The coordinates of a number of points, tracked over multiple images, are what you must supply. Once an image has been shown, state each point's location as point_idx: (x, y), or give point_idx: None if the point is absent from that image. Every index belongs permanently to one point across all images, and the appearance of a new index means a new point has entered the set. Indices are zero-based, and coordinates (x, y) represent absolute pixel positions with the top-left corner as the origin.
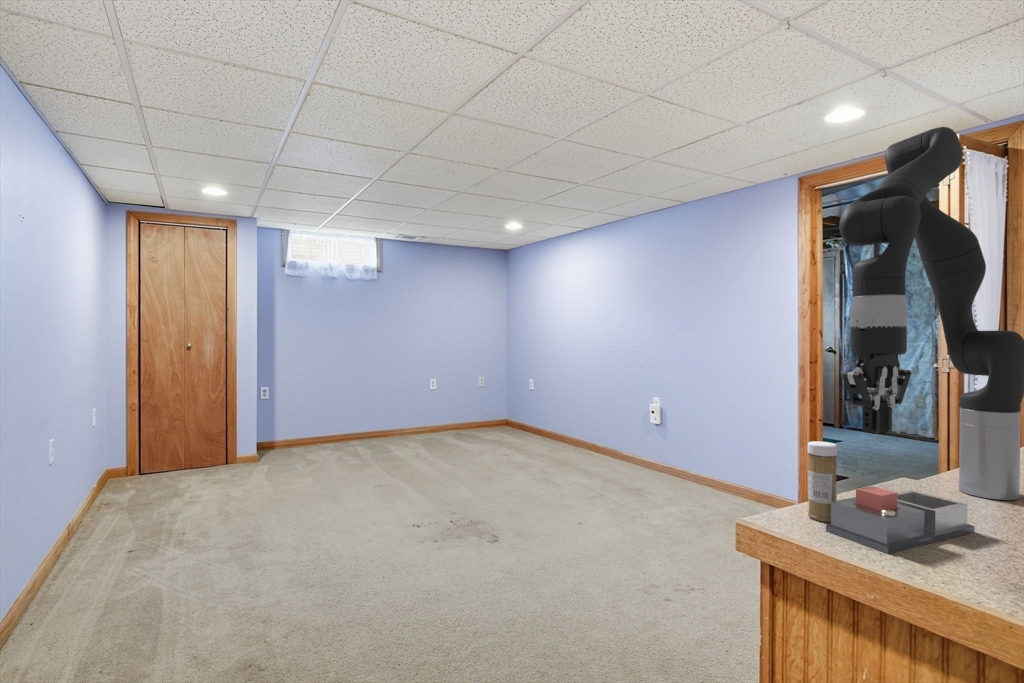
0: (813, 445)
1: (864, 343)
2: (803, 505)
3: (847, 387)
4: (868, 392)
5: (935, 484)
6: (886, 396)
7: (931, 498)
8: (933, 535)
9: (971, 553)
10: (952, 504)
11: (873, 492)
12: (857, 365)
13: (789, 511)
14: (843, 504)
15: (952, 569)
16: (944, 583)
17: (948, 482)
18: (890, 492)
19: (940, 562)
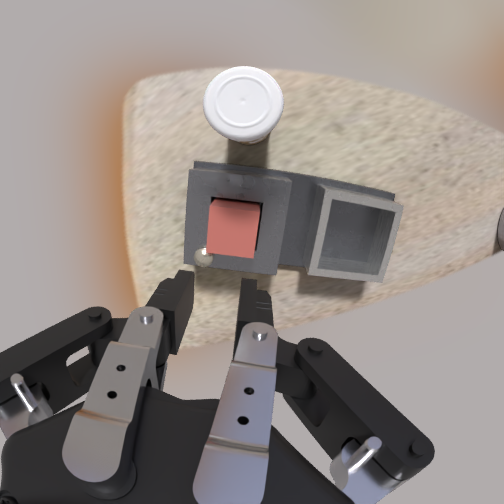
0: (203, 98)
1: None
2: (288, 72)
3: (23, 344)
4: (84, 392)
5: None
6: (300, 370)
7: (387, 237)
8: (289, 263)
9: (283, 297)
10: (379, 265)
11: (215, 235)
12: (11, 453)
13: None
14: (192, 190)
15: (211, 303)
16: None
17: None
18: (244, 250)
19: (220, 290)
